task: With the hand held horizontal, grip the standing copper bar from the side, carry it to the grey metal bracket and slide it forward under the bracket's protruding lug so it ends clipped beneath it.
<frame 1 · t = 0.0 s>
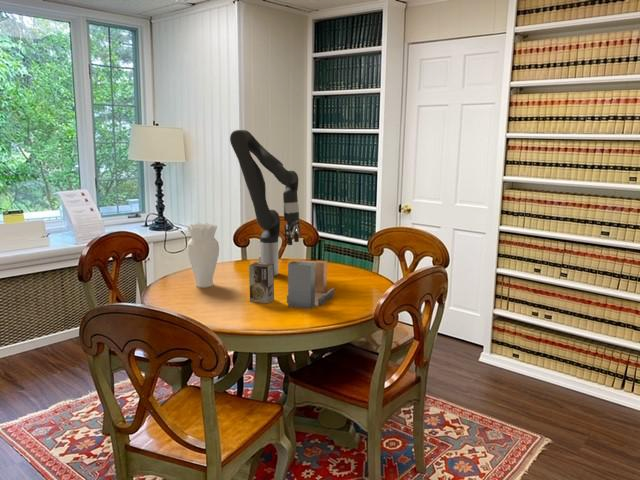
hand: (293, 243, 269), 17 cm above the table, tool pointing down, fingers open, 8 cm apart
vase: (204, 285, 255), on the table
coffee box: (262, 300, 232), on the table
copper bar: (320, 291, 246), on the table
grey metal bracket: (307, 301, 231), on the table
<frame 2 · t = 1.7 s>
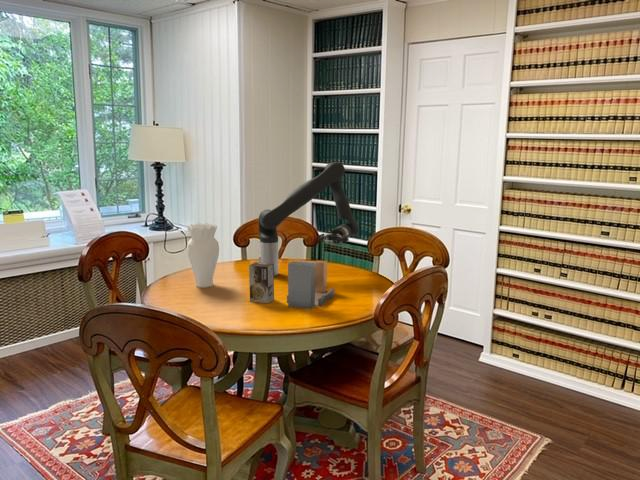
hand: (328, 240, 253), 22 cm above the table, tool horizontal, fingers open, 8 cm apart
nothing on the table moved.
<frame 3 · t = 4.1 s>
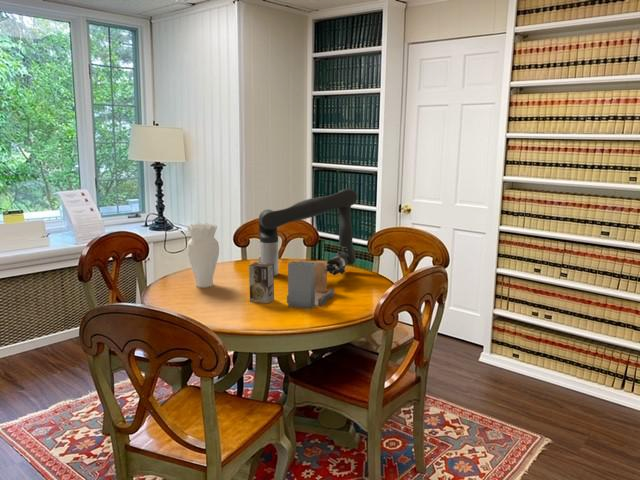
hand: (325, 272, 251), 8 cm above the table, tool horizontal, fingers open, 8 cm apart
nothing on the table moved.
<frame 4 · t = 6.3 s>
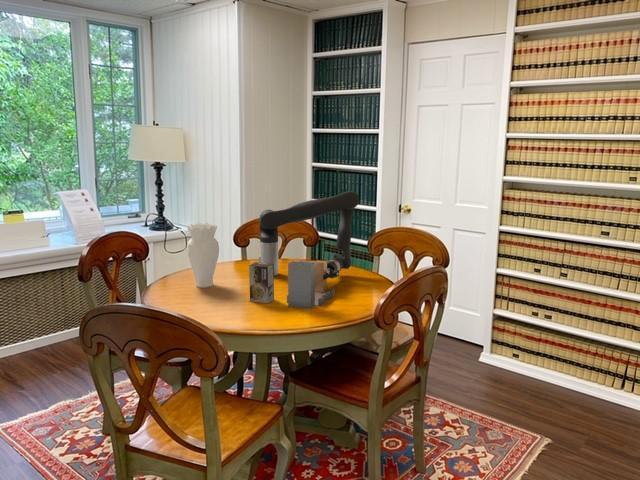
hand: (318, 277, 242), 8 cm above the table, tool horizontal, fingers closed on copper bar, 4 cm apart
copper bar: (320, 291, 246), on the table, touching gripper
everything else where it was.
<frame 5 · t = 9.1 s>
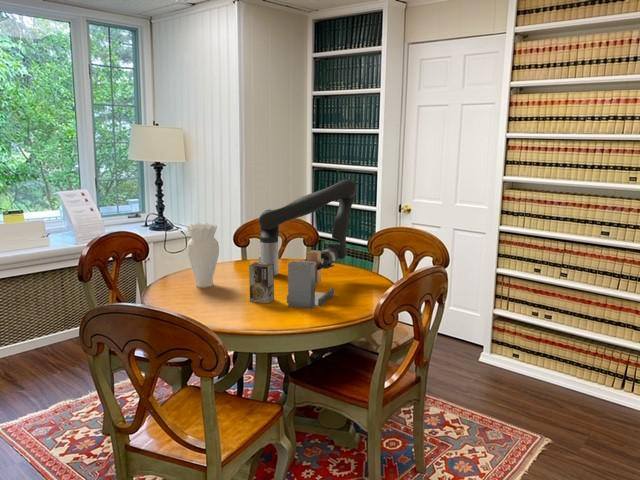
hand: (312, 267, 233), 14 cm above the table, tool horizontal, fingers closed on copper bar, 4 cm apart
copper bar: (314, 282, 237), point 7 cm above the table, touching gripper
everything else where it was.
when the fingers open (8 cm above the table, at t = 12.3 s): copper bar stays where it is, resting on grey metal bracket.
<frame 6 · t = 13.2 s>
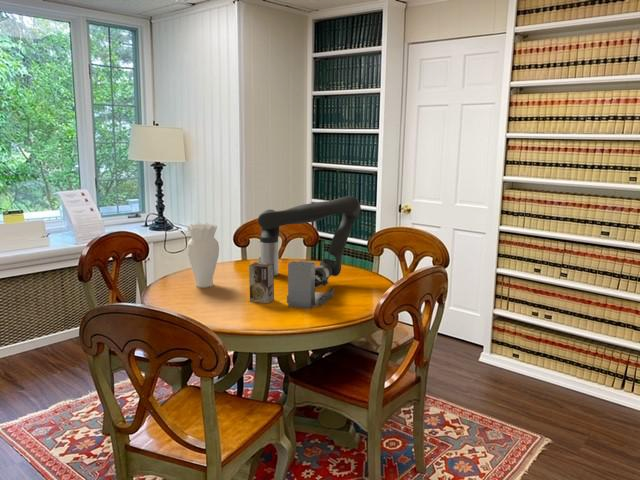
hand: (305, 284, 227), 8 cm above the table, tool horizontal, fingers open, 8 cm apart
copper bar: (307, 300, 231), resting on grey metal bracket
everything else where it was.
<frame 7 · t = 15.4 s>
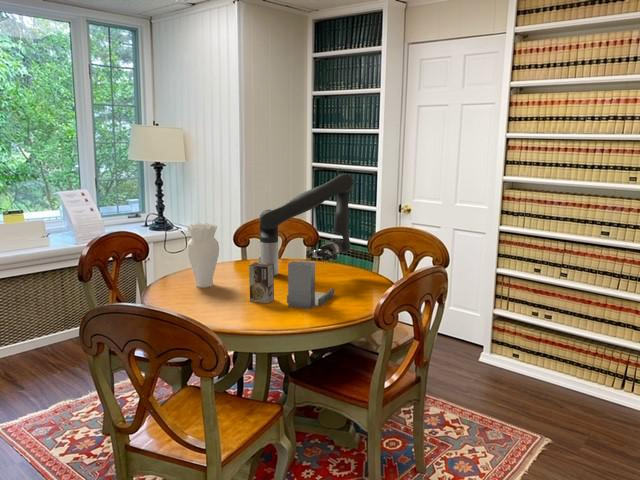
hand: (317, 257, 241), 17 cm above the table, tool horizontal, fingers open, 8 cm apart
nothing on the table moved.
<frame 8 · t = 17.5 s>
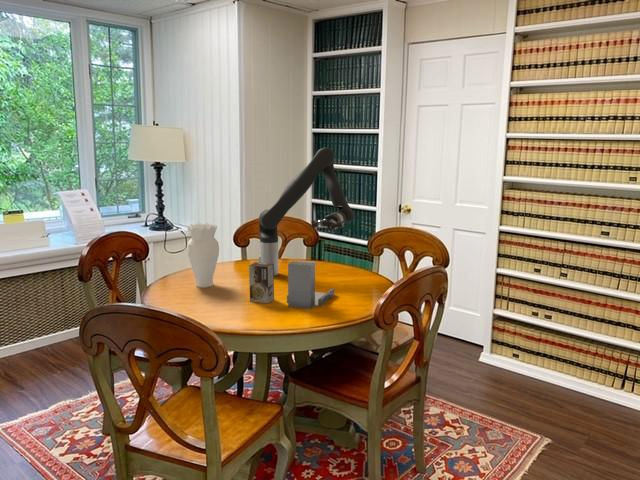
hand: (322, 226, 243), 30 cm above the table, tool horizontal, fingers open, 8 cm apart
nothing on the table moved.
at the end: copper bar 0.1 cm off-centre on the grey metal bracket, point 0.4 cm above the grey metal bracket's base; copper bar tilted 0°; the gripper is holding nothing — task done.
